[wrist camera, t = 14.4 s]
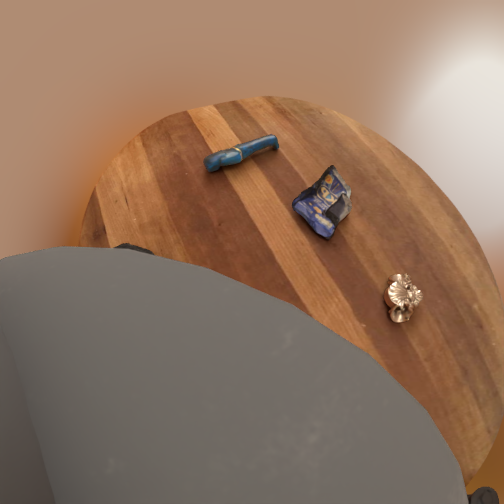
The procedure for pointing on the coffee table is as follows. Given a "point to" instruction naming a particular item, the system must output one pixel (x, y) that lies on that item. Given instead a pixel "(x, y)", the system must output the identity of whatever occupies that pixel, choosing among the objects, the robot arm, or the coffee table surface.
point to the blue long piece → (238, 152)
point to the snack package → (325, 203)
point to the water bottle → (194, 394)
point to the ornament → (402, 297)
